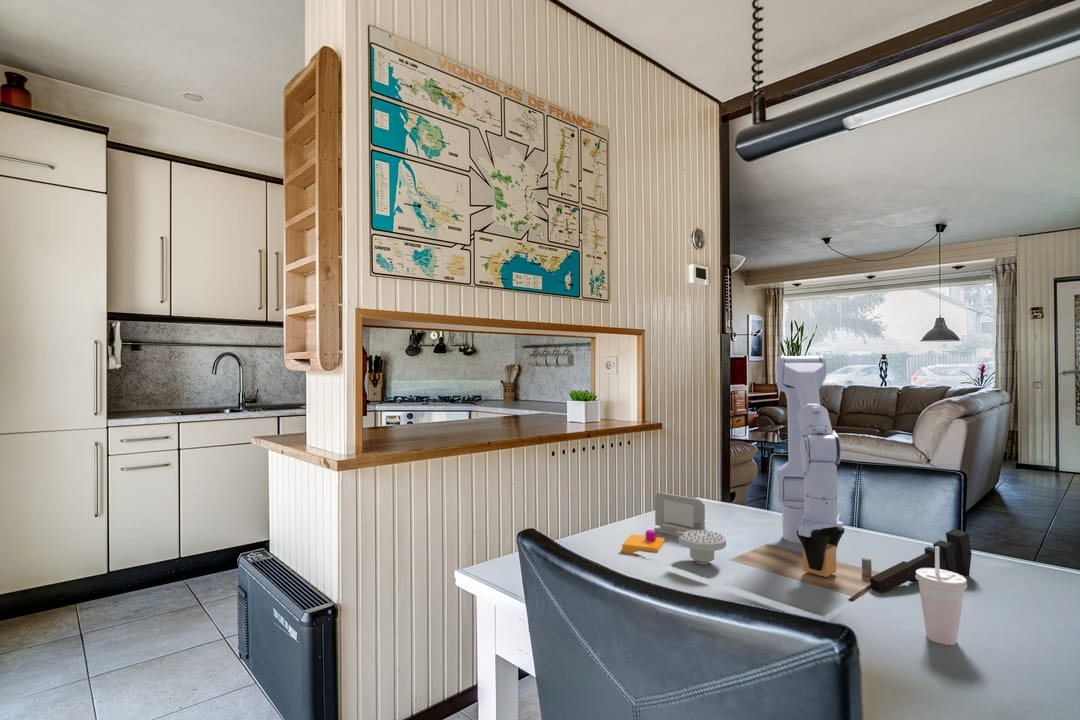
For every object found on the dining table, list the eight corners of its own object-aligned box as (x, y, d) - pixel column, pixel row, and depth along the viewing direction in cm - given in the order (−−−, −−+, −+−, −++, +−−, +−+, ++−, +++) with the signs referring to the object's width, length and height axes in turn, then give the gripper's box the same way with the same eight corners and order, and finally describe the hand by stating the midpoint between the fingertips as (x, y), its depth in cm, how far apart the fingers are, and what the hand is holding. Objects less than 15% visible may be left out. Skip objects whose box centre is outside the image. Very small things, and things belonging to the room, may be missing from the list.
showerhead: (674, 524, 120) (723, 526, 118) (675, 557, 120) (723, 560, 118) (676, 537, 111) (728, 540, 109) (676, 573, 111) (729, 577, 109)
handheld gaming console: (720, 534, 136) (719, 494, 137) (702, 543, 130) (702, 501, 130) (672, 524, 146) (672, 486, 146) (654, 532, 139) (653, 492, 139)
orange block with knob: (658, 558, 120) (657, 539, 121) (622, 554, 124) (622, 535, 124) (665, 547, 128) (664, 529, 128) (631, 543, 131) (631, 525, 131)
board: (767, 548, 126) (767, 529, 126) (885, 578, 108) (885, 557, 108) (729, 564, 116) (729, 544, 116) (852, 601, 97) (852, 577, 97)
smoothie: (905, 629, 87) (905, 540, 87) (943, 628, 88) (943, 539, 88) (938, 650, 81) (937, 554, 81) (979, 648, 81) (978, 553, 81)
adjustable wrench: (873, 613, 103) (960, 568, 112) (887, 620, 101) (974, 573, 110) (866, 571, 103) (953, 528, 112) (880, 576, 100) (968, 532, 109)
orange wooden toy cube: (813, 565, 111) (812, 540, 111) (836, 571, 107) (836, 545, 107) (803, 570, 108) (802, 544, 108) (826, 577, 105) (826, 550, 105)
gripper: (825, 506, 100) (826, 581, 100) (857, 494, 109) (858, 563, 109) (787, 499, 105) (787, 570, 105) (820, 488, 115) (821, 553, 114)
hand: (820, 566), depth 107 cm, fingers closed on orange wooden toy cube, 4 cm apart
